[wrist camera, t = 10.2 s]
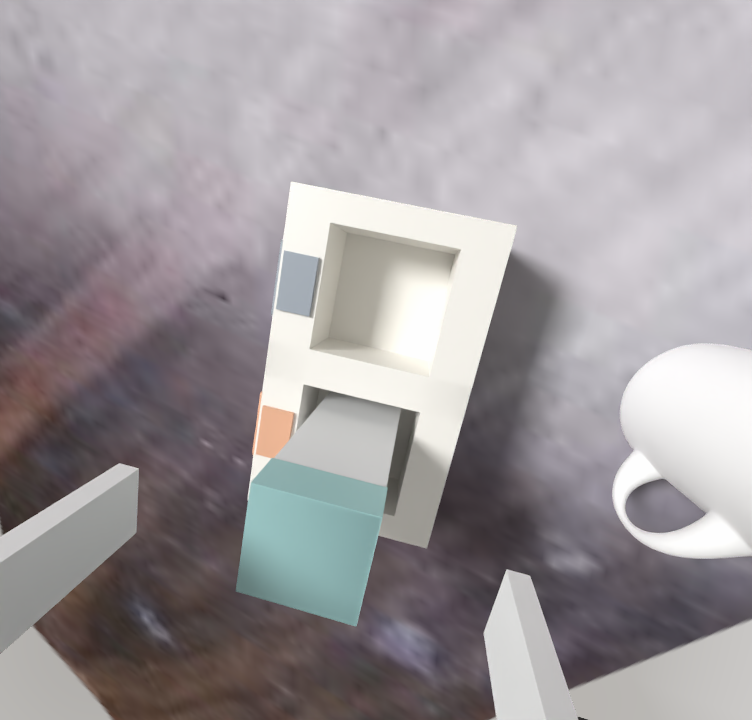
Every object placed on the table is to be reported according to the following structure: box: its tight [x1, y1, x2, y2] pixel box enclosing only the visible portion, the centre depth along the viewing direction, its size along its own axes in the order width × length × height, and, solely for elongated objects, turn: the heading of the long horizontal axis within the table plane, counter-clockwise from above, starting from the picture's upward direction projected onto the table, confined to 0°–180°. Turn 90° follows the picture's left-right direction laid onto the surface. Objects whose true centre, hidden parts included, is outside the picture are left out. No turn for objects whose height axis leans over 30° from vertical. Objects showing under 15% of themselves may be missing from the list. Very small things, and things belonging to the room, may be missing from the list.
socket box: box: [248, 182, 517, 548], centre depth 22 cm, size 18×11×6 cm, turn 168°
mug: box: [612, 343, 752, 559], centre depth 19 cm, size 9×12×11 cm
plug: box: [236, 391, 401, 626], centre depth 19 cm, size 5×5×12 cm
